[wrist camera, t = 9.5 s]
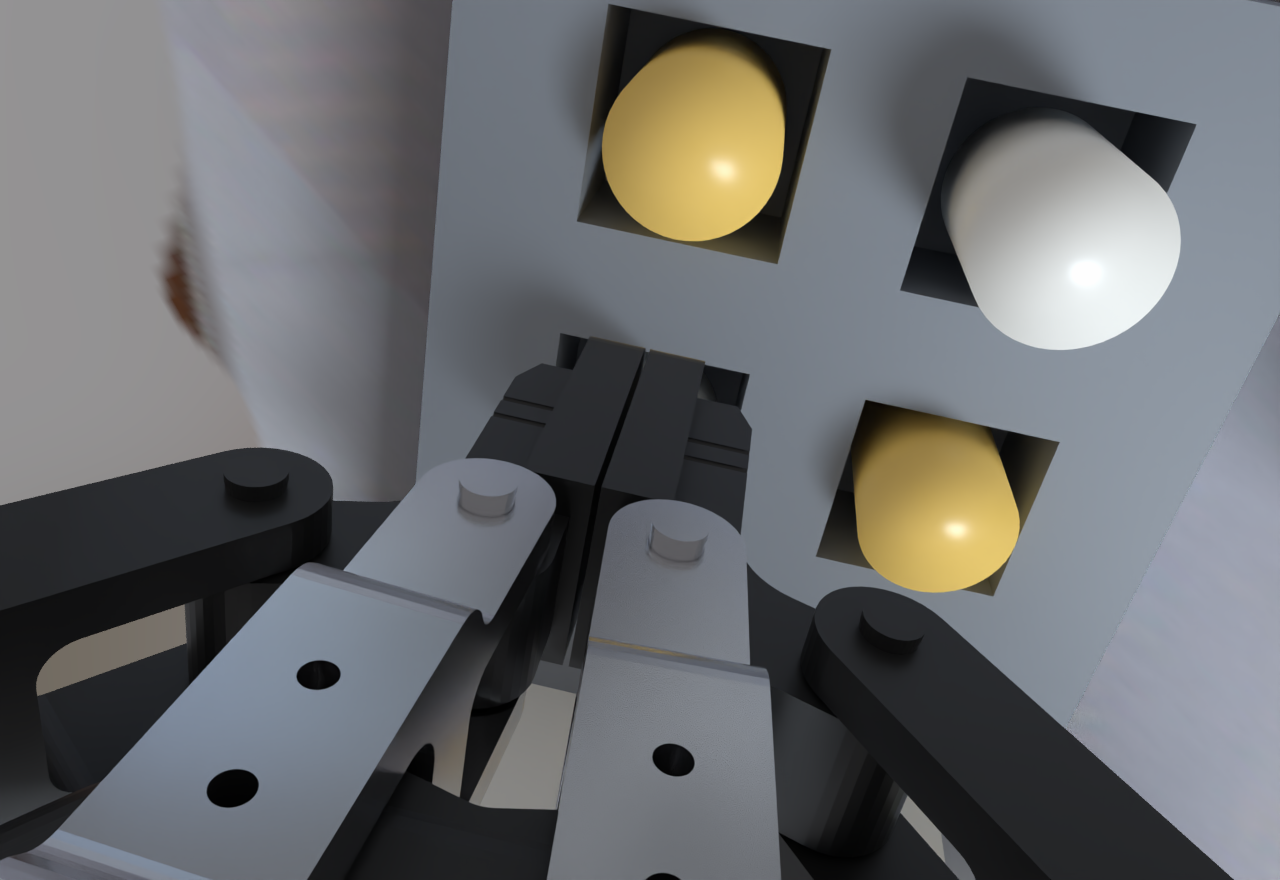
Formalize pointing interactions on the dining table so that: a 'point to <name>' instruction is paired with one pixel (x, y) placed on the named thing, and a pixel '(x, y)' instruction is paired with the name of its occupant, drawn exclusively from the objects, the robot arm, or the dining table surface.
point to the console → (868, 285)
